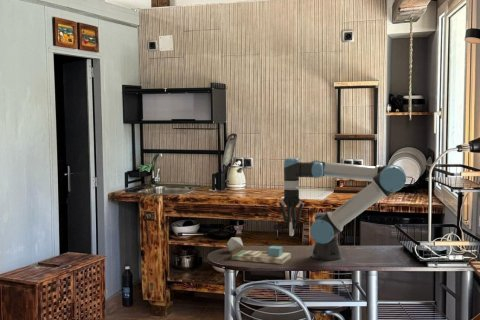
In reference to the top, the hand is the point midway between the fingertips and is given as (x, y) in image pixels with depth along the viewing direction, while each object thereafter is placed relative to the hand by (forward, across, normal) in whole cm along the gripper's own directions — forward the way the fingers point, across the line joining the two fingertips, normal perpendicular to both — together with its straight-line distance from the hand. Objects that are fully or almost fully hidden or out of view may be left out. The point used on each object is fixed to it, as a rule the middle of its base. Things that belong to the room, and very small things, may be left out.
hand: (291, 235), depth 272 cm
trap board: (+13, +17, 0) cm, 21 cm away
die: (+14, +36, -11) cm, 40 cm away
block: (+11, +9, 0) cm, 14 cm away
